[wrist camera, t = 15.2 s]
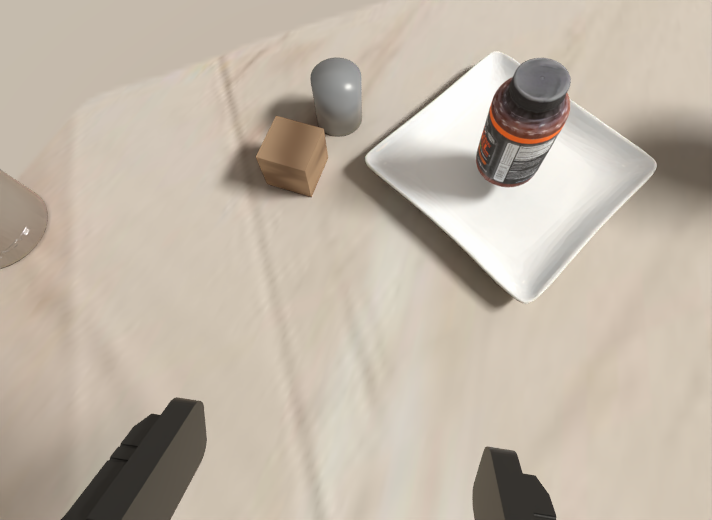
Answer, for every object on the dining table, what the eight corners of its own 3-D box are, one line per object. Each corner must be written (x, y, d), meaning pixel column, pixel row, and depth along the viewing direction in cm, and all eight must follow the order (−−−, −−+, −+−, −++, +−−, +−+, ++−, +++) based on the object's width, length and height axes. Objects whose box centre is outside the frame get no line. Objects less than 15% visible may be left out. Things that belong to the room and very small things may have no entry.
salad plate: (644, 179, 44) (666, 160, 41) (515, 317, 39) (529, 308, 36) (488, 68, 49) (497, 43, 46) (359, 176, 45) (359, 158, 41)
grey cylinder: (307, 120, 47) (300, 80, 41) (336, 92, 48) (333, 50, 42) (342, 144, 45) (338, 106, 40) (370, 115, 47) (371, 73, 41)
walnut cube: (267, 184, 44) (255, 156, 39) (285, 146, 45) (276, 115, 41) (311, 197, 43) (305, 171, 39) (328, 158, 45) (323, 128, 40)
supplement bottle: (471, 139, 42) (495, 48, 31) (532, 135, 41) (578, 41, 31) (477, 192, 40) (505, 113, 29) (541, 188, 39) (593, 107, 29)
